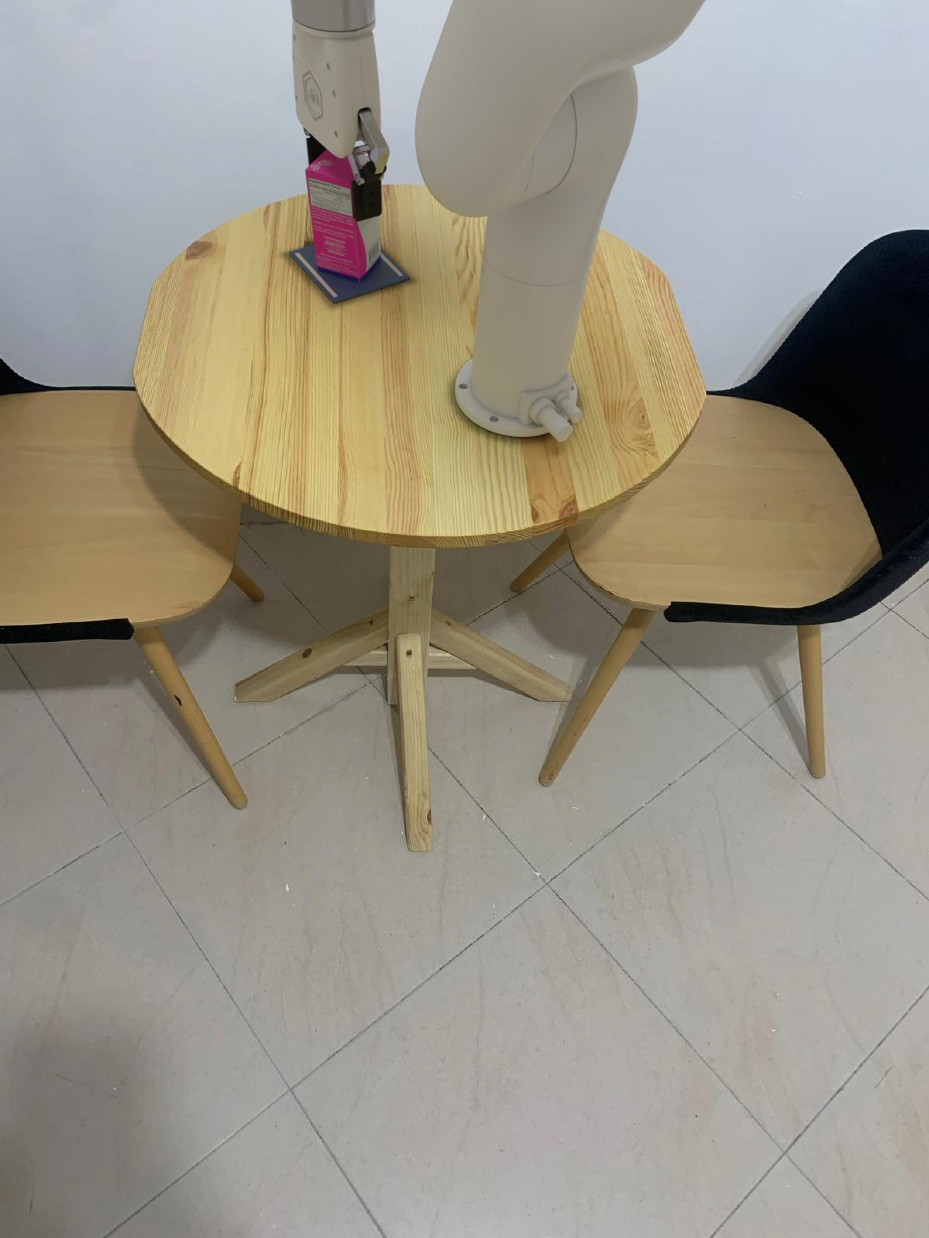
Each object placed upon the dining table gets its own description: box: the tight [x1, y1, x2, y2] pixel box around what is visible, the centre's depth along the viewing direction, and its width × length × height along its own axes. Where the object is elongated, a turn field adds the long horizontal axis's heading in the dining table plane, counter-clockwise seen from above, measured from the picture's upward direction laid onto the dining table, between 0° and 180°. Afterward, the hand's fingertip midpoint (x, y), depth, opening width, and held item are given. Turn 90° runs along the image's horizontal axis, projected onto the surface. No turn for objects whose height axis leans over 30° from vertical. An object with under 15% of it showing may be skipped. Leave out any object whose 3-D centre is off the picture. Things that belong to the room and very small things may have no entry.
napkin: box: [288, 244, 411, 305], centre depth 90 cm, size 11×10×1 cm
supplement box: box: [304, 149, 382, 283], centre depth 85 cm, size 6×6×12 cm
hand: (345, 195), depth 83 cm, fingers open, 9 cm apart
